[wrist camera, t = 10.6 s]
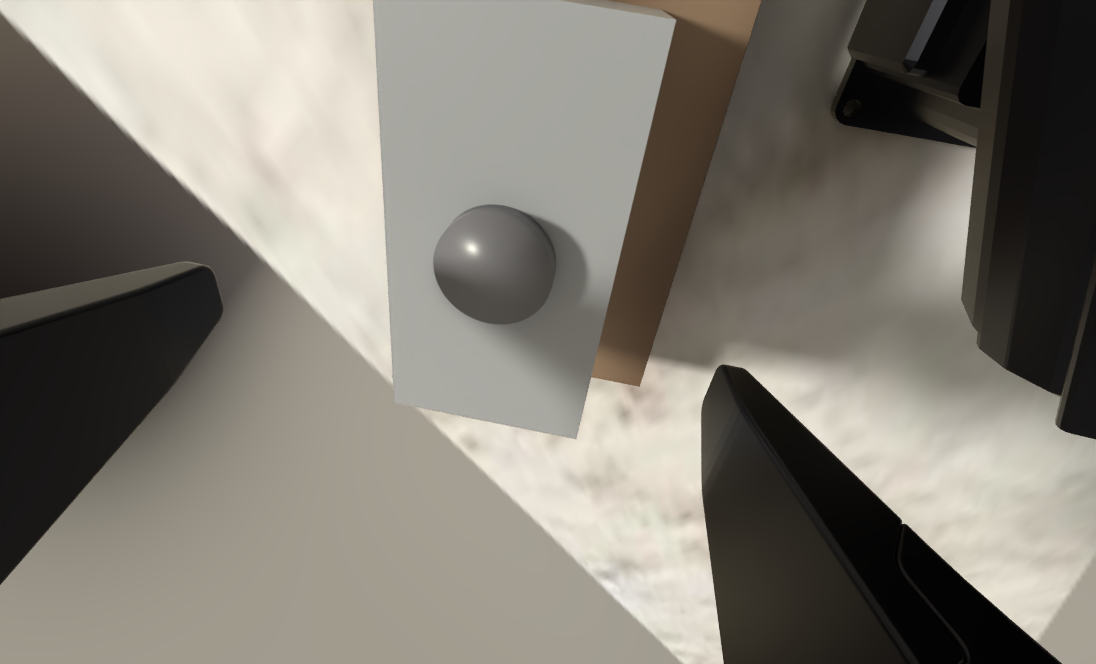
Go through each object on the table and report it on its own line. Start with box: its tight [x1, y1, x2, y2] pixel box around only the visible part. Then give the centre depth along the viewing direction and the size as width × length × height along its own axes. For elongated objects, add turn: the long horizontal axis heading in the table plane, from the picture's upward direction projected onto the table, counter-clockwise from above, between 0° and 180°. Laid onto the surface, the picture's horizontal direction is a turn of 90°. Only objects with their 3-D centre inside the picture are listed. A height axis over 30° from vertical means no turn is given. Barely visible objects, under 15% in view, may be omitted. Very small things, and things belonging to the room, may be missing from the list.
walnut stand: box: [591, 0, 761, 387], centre depth 18 cm, size 10×15×3 cm, turn 172°
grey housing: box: [373, 0, 676, 439], centre depth 14 cm, size 10×5×7 cm, turn 172°
